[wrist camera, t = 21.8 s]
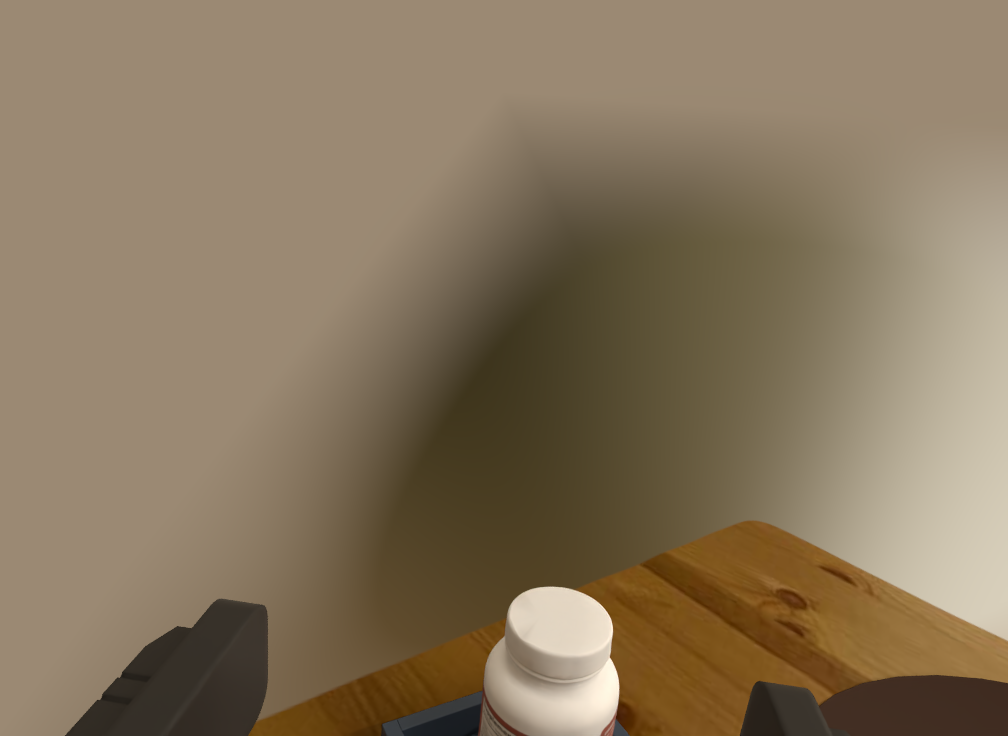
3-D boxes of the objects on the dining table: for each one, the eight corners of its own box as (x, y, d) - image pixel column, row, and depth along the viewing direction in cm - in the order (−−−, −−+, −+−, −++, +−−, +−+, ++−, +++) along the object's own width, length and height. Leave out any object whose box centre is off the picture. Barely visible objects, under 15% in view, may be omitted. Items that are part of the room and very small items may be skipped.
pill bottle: (541, 736, 36) (566, 562, 33) (623, 827, 31) (661, 634, 28) (446, 791, 32) (463, 600, 29) (523, 903, 28) (553, 690, 24)
